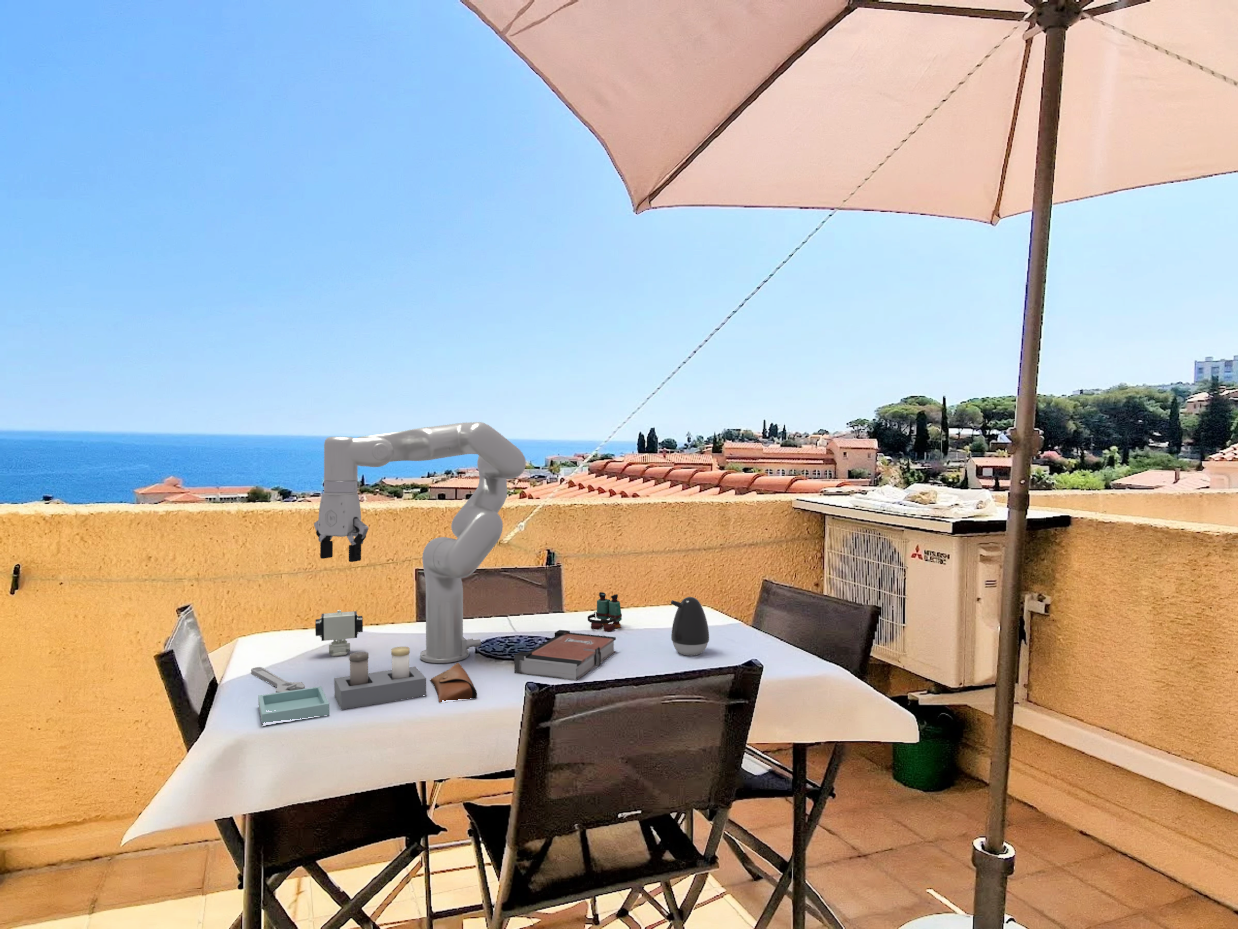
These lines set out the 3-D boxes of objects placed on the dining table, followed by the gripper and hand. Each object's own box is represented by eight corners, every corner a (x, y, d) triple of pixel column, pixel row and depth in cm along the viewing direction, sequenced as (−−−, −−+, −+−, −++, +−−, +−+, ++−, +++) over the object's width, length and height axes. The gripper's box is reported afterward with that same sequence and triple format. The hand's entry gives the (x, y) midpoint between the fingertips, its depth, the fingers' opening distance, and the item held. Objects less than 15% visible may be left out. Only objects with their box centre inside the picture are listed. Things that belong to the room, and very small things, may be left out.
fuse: (407, 688, 171) (407, 645, 171) (411, 694, 167) (411, 650, 167) (389, 691, 169) (389, 648, 169) (393, 696, 166) (393, 652, 165)
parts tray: (321, 697, 165) (321, 686, 165) (329, 715, 154) (329, 703, 154) (258, 707, 159) (258, 695, 159) (262, 726, 148) (261, 714, 148)
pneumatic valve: (363, 654, 198) (362, 610, 198) (315, 659, 194) (315, 613, 194) (362, 649, 203) (362, 606, 203) (316, 653, 199) (315, 609, 199)
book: (579, 683, 177) (579, 662, 176) (514, 675, 183) (514, 655, 183) (618, 654, 201) (618, 635, 201) (559, 647, 207) (559, 629, 207)
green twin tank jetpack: (582, 598, 224) (600, 590, 232) (584, 632, 225) (602, 622, 233) (607, 602, 219) (624, 593, 227) (609, 636, 220) (626, 626, 228)
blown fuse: (367, 695, 167) (366, 651, 166) (370, 700, 163) (370, 655, 163) (348, 698, 165) (347, 653, 164) (351, 703, 161) (350, 658, 161)
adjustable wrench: (249, 674, 183) (249, 667, 183) (276, 669, 187) (276, 662, 187) (280, 700, 164) (280, 692, 164) (310, 694, 168) (309, 686, 168)
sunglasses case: (426, 679, 178) (441, 653, 179) (452, 690, 180) (466, 666, 181) (438, 703, 161) (454, 675, 162) (466, 716, 163) (482, 689, 165)
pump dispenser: (667, 648, 205) (667, 593, 204) (704, 647, 206) (705, 592, 205) (673, 659, 195) (673, 601, 194) (712, 658, 196) (713, 600, 195)
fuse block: (415, 683, 175) (415, 666, 175) (426, 696, 166) (426, 678, 166) (334, 695, 166) (334, 678, 166) (341, 710, 157) (341, 691, 157)
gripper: (303, 487, 178) (302, 558, 179) (354, 490, 170) (353, 564, 170) (328, 486, 185) (328, 555, 185) (378, 488, 177) (378, 560, 177)
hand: (340, 559), depth 178 cm, fingers open, 9 cm apart
